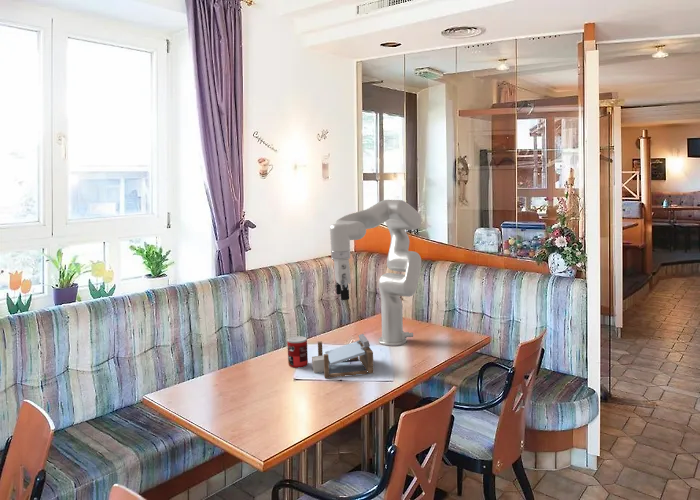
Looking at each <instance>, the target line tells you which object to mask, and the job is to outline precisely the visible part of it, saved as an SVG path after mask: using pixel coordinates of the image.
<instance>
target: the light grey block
mask: <svg viewBox="0 0 700 500" xmlns="http://www.w3.org/2000/svg"><path fill="white" fill-rule="evenodd" d="M311 363H312V364H311V366H312V367H311V368H312V371H313V373H314V374H316V373H318V372H319V373H324V354H323V356H318V355H317V356H311Z"/></svg>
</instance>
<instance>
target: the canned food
mask: <svg viewBox="0 0 700 500" xmlns="http://www.w3.org/2000/svg"><path fill="white" fill-rule="evenodd" d="M286 342H287V362H288V366H289V367H291V368H295V369H298V367H300V368H305V367H306V366H307V365H308V363H309V361H308V359H309V358H308V339H307V337H305V336H302V335H300V336H299V335H298V336H290V337H288V338H287V341H286ZM304 366H305V367H304Z"/></svg>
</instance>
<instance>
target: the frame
mask: <svg viewBox="0 0 700 500" xmlns="http://www.w3.org/2000/svg"><path fill="white" fill-rule="evenodd" d="M359 344H360V346H361V347H362V346H364V345H363V344H362V342H359ZM370 347H371V346H370ZM370 347H367V348H364V349H363V350H364V351H365V354H364V355H361V356H358V357H355V358H352V359H350V360H355V361H360V363H361V362H362V363H361V365H364V366H363V368H364V369H365V368H366V369H365V370H356V371H353V370H352V371H345V372H335V373H330V363H329V357H328V354H326V353H324V354H323V352H324V351H323V342H322V341H317V356H323V355H324V372H323V375H324V379H330V378H338V377H337V376H342V377H346V376H345V375H352V376H357V375H356V374H362V375H368V373H370V374H374V351H373V350H372V349H371V348H370ZM359 359H360V360H359ZM367 371H368V372H367Z"/></svg>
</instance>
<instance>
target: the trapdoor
mask: <svg viewBox="0 0 700 500" xmlns="http://www.w3.org/2000/svg"><path fill="white" fill-rule="evenodd" d="M359 342H362V344H363V345H364V346H362V347H361V346H360V344H359ZM367 347H371V345H370V341H369V339H368V338H367V337H366V336H365V335H364V333H362V334H358V340H356V341H354V342H352V343H348V344H345V345H342V346H339V347H336V348H333V349H330V350H327V351H325V352H324V354H328V357H329V362H330V363H329V365H330V366H335V365H338V364H341V363H343V361H344V362H347V361H346V360H349V359H352V358H355V357H359V356H361V355H364V354H365V351H364V350H363V349H364V348H367Z"/></svg>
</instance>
